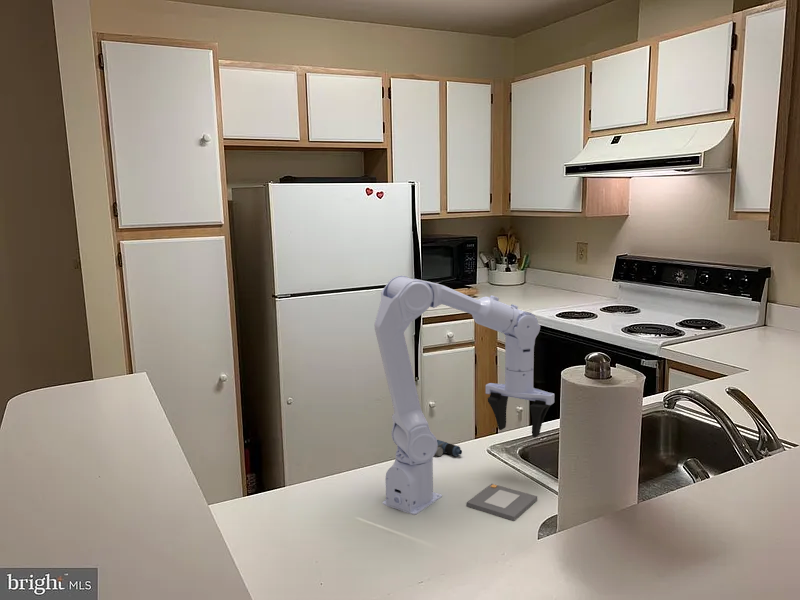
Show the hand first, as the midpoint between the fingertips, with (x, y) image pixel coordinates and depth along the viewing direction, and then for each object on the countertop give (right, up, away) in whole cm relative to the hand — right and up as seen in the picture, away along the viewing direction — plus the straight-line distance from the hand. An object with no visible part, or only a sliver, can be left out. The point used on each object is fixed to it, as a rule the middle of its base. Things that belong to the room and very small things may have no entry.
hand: (518, 432), depth 129 cm
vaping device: (-20, -7, +21) cm, 30 cm away
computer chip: (-5, -12, -9) cm, 16 cm away
